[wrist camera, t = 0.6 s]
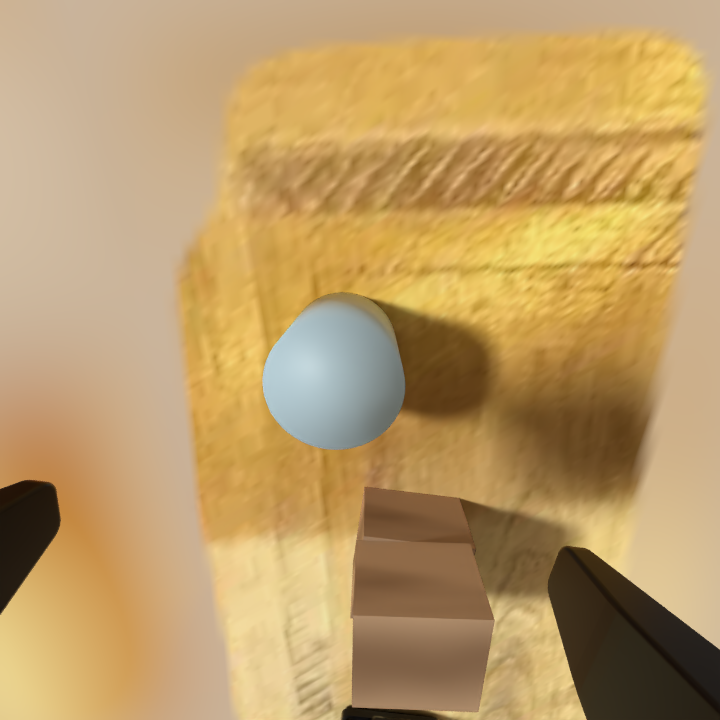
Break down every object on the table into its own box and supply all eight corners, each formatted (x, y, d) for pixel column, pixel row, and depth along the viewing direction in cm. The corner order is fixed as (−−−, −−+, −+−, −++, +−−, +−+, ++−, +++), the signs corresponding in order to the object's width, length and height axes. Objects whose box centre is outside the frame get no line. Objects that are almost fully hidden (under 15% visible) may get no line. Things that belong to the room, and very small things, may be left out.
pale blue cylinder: (387, 398, 19) (393, 457, 14) (288, 386, 19) (259, 440, 14) (403, 299, 17) (416, 327, 12) (295, 285, 17) (266, 308, 12)
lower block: (440, 569, 22) (453, 630, 19) (353, 559, 22) (350, 618, 19) (459, 497, 20) (476, 549, 17) (364, 485, 20) (363, 536, 17)
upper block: (459, 625, 19) (478, 712, 15) (355, 622, 19) (351, 707, 15) (470, 543, 17) (494, 620, 14) (356, 540, 17) (352, 615, 14)
